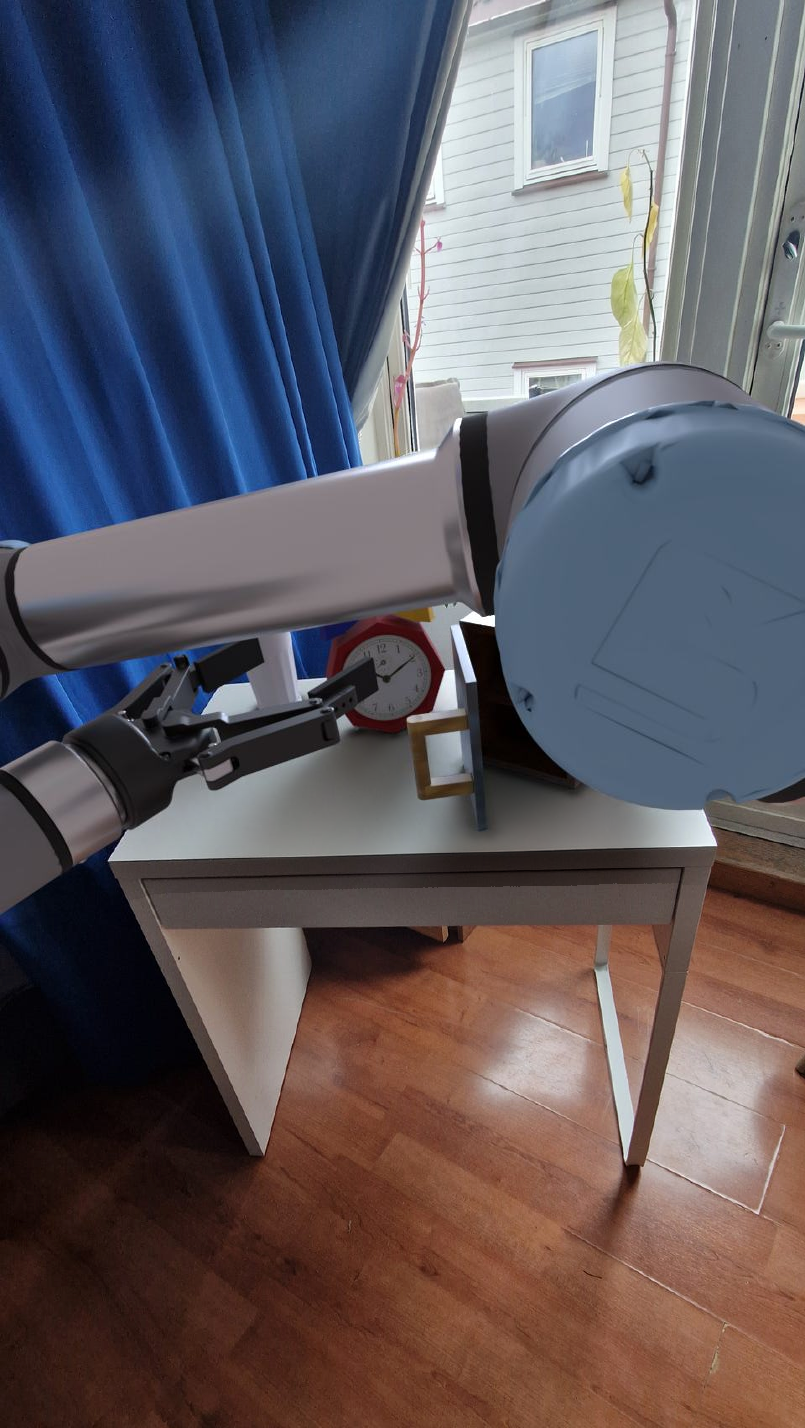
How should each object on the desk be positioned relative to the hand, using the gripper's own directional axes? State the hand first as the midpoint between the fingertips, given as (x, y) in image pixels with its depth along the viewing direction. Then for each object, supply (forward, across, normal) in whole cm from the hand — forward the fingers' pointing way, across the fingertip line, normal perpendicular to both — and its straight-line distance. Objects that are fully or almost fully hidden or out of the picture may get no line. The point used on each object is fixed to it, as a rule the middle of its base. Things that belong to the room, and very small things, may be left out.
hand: (312, 659), depth 60 cm
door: (+14, +1, -22) cm, 26 cm away
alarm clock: (+26, -17, -23) cm, 38 cm away
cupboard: (+28, +5, -22) cm, 36 cm away
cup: (+22, -35, -22) cm, 47 cm away
